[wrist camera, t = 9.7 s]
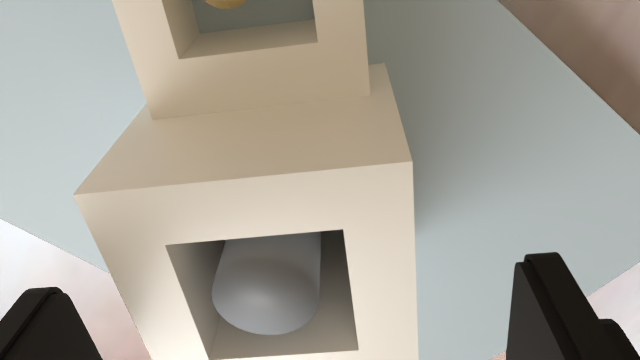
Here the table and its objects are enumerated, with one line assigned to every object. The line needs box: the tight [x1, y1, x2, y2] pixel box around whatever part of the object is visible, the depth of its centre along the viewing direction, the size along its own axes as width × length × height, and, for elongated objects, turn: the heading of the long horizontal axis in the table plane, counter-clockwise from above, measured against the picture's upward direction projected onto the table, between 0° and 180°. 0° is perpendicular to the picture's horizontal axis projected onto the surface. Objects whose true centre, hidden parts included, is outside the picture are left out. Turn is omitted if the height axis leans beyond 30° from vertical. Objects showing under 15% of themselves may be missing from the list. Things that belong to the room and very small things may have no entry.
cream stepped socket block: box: [73, 0, 419, 360], centre depth 11 cm, size 11×6×5 cm, turn 7°
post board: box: [0, 0, 640, 360], centre depth 13 cm, size 20×14×6 cm
